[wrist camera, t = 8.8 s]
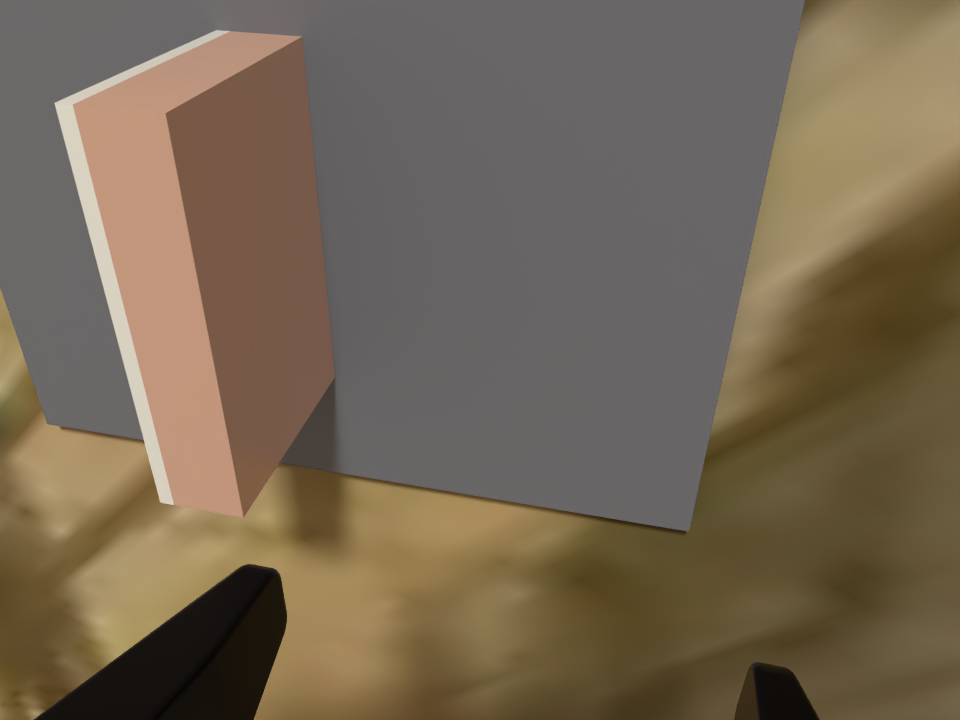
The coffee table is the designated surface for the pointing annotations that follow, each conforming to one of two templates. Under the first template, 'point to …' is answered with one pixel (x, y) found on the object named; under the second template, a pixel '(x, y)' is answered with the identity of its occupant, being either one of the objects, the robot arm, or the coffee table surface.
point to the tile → (209, 255)
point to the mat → (454, 229)
